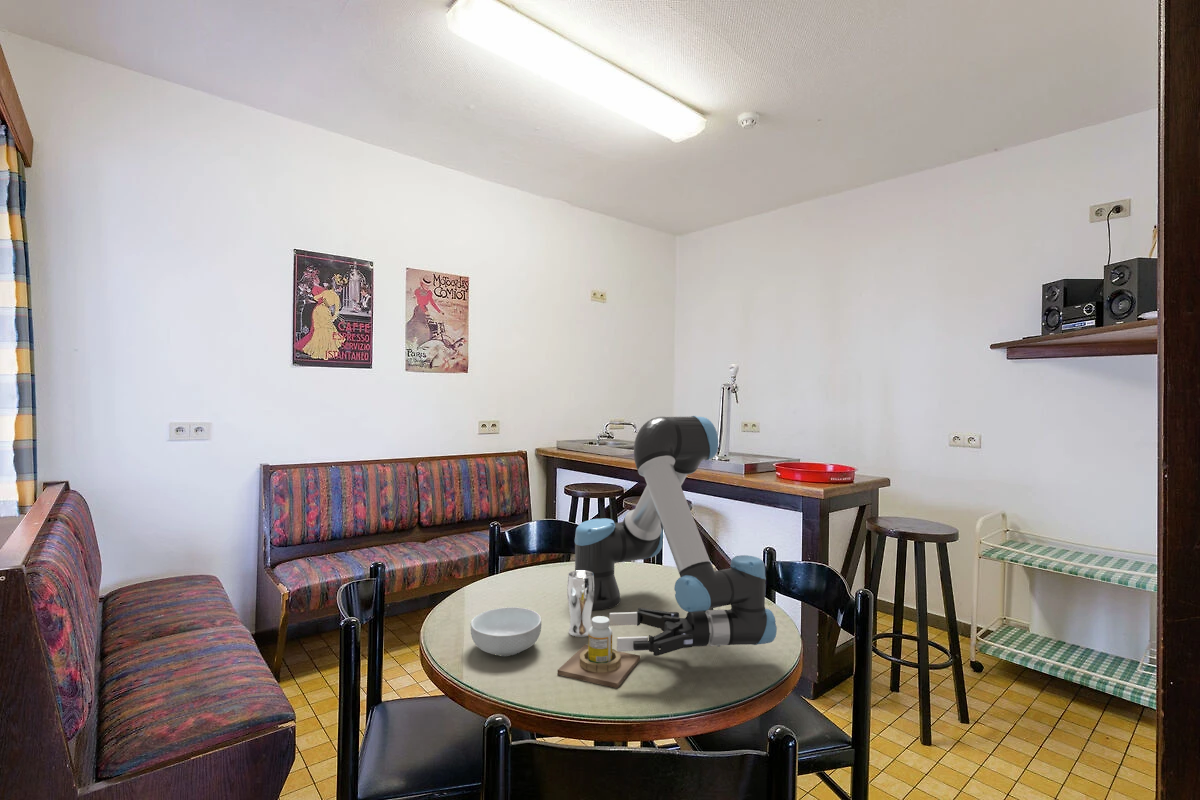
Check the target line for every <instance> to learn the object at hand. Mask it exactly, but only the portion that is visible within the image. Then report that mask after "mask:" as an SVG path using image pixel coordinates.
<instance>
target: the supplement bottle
mask: <svg viewBox="0 0 1200 800" xmlns="http://www.w3.org/2000/svg"><path fill="white" fill-rule="evenodd" d="M591 626H592V627H591V628H590V629H589V633H588V636H587V637H588V639H587V640H588V643H587V645H588V661H589V662H594V663H608V662H611V661H612V649H613V630H612V628H611V627H610V617H608V616H605V615H602V616H601V615H597V616H593V617H591Z"/></svg>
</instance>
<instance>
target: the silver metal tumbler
mask: <svg viewBox="0 0 1200 800" xmlns="http://www.w3.org/2000/svg"><path fill="white" fill-rule="evenodd" d="M567 575H568V577H567V584H566V585H567V587H566V590H567V591H566V593H567V594H566V595H567V603H568V610H569V615H570V621H569V628H568V634H569V635H570V636H571V635H572V637H574V636H575V638H586V637H588V633H589V629H590V628H591V627H592V624H591V623H592V612H593V610H592V607H593V602H594V591H595V588H594V573H593V572H590V571H586V570H576V571H575V570H572V571H570V572H568V574H567Z"/></svg>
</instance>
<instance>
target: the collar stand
mask: <svg viewBox="0 0 1200 800" xmlns="http://www.w3.org/2000/svg"><path fill="white" fill-rule="evenodd" d="M640 661H641V655H639V654H636V653H634V654H633V653H629V652H626V651H617V649H616V650H615V649H614V648H612V661H611V662H608V663H594V662H589V661H588V644H583V646H582V647H581V648H579V650H577V651H576V652H575V653H574V654H573V655H572V656H571V657H569V659H567V660H566V661H565V662H564V663H563V664H562V665H561V666H560V667H559V668H558V669H557V675H558V676H561V677H562V676H563V677H566V678H567V677H568V678H571V679H575V680H580V681H585V682H588V683H593V684H598V685H601V686H605V687H610V688H614V689H618V688H619V687H620V685H622V683H623V682H624V681H625V680H626V678H627V677H628V676H629V675H630V674H631V672H632V671H633V670H634V668H635V667H636V666H637V665H638V663H639V662H640Z"/></svg>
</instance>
